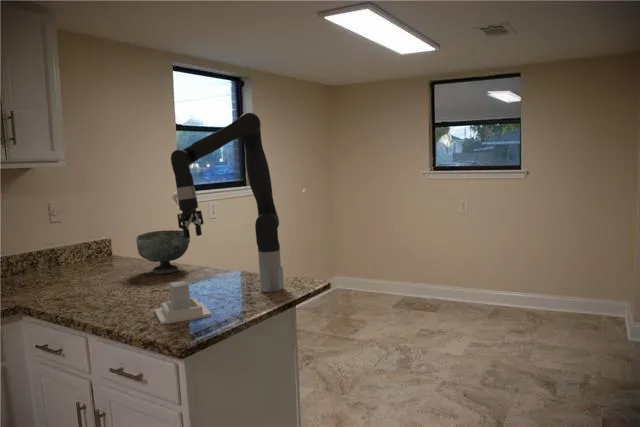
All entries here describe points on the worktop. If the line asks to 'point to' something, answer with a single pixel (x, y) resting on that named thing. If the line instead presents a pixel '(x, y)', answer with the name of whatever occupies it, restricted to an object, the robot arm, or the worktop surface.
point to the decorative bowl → (162, 248)
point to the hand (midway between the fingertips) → (193, 236)
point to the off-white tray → (181, 312)
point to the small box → (179, 295)
